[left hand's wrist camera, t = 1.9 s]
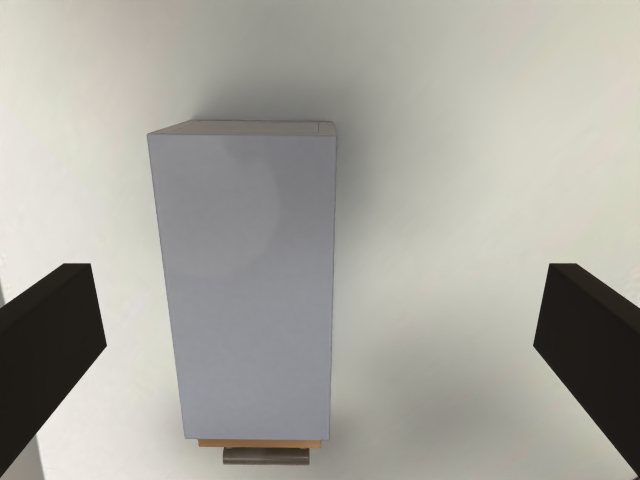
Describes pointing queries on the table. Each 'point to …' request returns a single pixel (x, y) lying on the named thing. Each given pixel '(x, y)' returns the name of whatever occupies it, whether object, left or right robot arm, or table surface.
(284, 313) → the cabinet
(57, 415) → the table surface
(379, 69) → the table surface
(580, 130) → the table surface
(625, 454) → the left robot arm
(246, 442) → the drawer
